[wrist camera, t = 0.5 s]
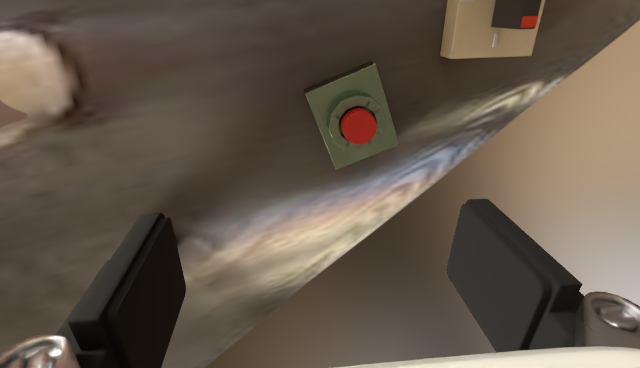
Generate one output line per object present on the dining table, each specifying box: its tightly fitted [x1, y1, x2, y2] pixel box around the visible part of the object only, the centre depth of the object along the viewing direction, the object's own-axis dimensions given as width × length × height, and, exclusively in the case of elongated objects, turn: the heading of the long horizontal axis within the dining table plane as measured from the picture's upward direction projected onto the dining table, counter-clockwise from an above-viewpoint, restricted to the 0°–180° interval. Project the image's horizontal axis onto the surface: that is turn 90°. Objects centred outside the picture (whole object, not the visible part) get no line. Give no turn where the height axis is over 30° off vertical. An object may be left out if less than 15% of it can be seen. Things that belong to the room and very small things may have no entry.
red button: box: [341, 108, 377, 144], centre depth 40 cm, size 4×4×2 cm
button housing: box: [304, 61, 399, 170], centre depth 42 cm, size 11×9×4 cm
